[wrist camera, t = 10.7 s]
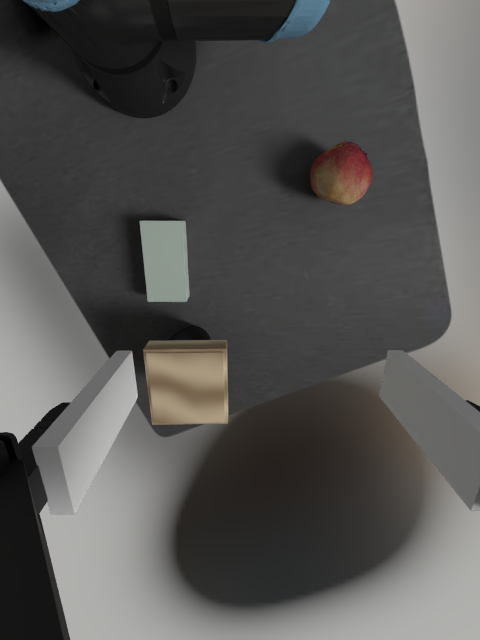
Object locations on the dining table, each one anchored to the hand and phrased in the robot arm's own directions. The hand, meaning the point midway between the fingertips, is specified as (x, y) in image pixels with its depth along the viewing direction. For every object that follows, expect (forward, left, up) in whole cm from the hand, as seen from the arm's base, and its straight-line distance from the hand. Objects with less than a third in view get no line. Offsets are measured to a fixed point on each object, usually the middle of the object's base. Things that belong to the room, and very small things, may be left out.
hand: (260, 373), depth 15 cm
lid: (+15, -8, -25) cm, 30 cm away
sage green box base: (-1, -12, -35) cm, 37 cm away
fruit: (-13, +13, -35) cm, 39 cm away
